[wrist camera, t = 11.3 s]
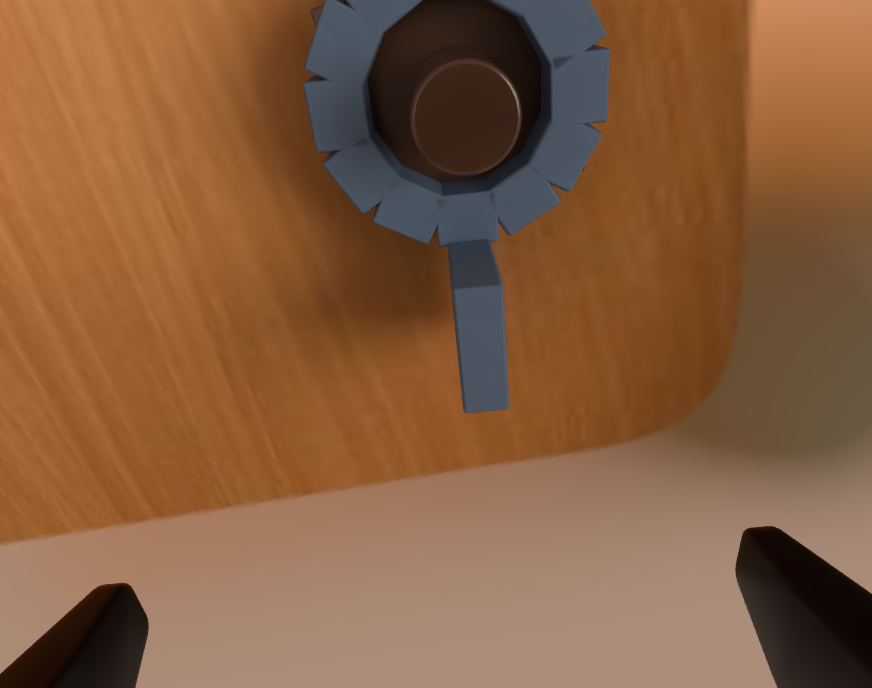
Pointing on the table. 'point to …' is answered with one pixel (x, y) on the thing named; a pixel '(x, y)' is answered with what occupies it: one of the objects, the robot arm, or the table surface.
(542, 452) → the table surface
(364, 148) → the ring
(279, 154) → the table surface
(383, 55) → the peg stand
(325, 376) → the table surface
